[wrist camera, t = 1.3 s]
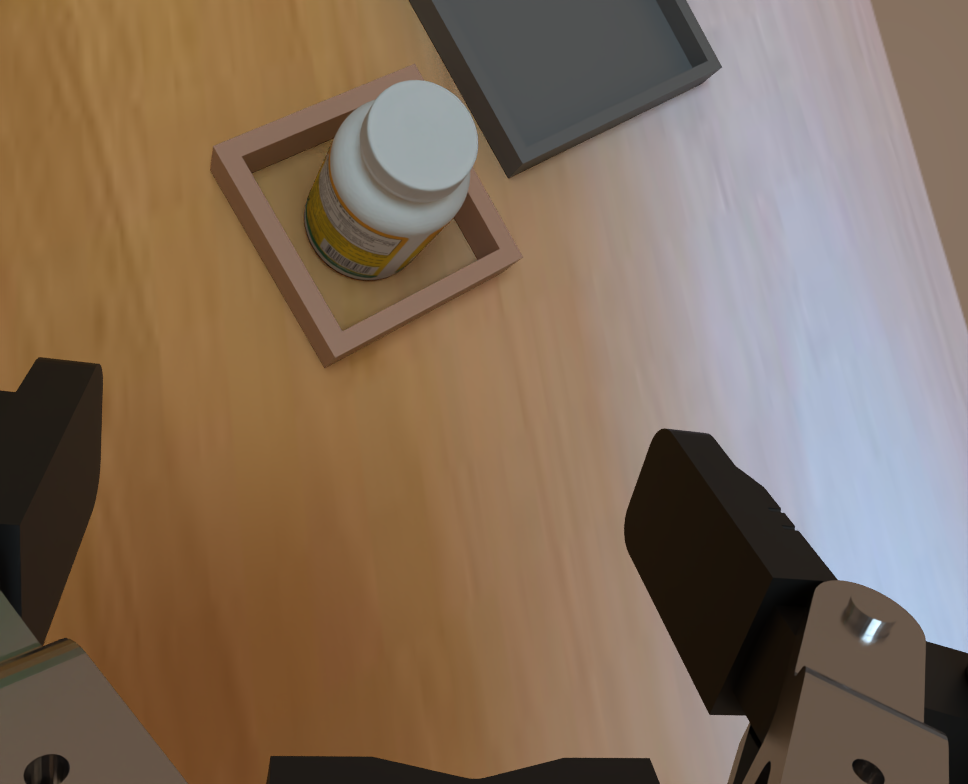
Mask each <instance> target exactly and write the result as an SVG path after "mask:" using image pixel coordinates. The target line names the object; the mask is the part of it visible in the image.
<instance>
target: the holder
mask: <svg viewBox="0 0 968 784" xmlns="http://www.w3.org/2000/svg"><path fill="white" fill-rule="evenodd" d="M408 80H422V81H424V79H423V77H422V76H421V74H420V72H419V70H418V69H417V67H416V65H415V64H413V65H411V66H408V67H406V68H403V69H401V70H398V71H396V72H393V73H391V74H389V75H386V76H384V77H381V78H379V79H376V80H374V81H371V82H369V83H367V84H364V85H362V86H359V87H357V88H354V89H352V90H349V91H347V92H344V93H342V94H340V95H337V96H335V97H332V98H330V99H327V100H325V101H322V102H320V103H318V104H315V105H313V106H310V107H308V108H305V109H303V110H300V111H298V112H296V113H293V114H291V115H288V116H286V117H283V118H281V119H278V120H276V121H273V122H271V123H269V124H266V125H264V126H261V127H259V128H256V129H254V130H251V131H249V132H247V133H244V134H242V135H239V136H237V137H234V138H232V139H229V140H227V141H224V142H222V143H220V144H217V145H215V146H213V151H212V159H211V168H210V171H211V172H212V174H213V176H214V177H215V179H216V181H217V183H218V184H219V186H220V188H221V190H222V191H223V193H224V195H225V196H226V198H227V200H228V202H229V203H230V205H231V207H232V209H233V210H234V212H235V214H236V215H237V217H238V219H239V221H240V222H241V224H242V226H243V228H244V229H245V231H246V233H247V234H248V236H249V238H250V240H251V241H252V243H253V245H254V247H255V248H256V250H257V252H258V254H259V255H260V257H261V259H262V260H263V262H264V264H265V266H266V267H267V269H268V271H269V273H270V274H271V276H272V278H273V279H274V281H275V283H276V285H277V286H278V288H279V290H280V292H281V293H282V295H283V297H284V298H285V300H286V302H287V304H288V305H289V307H290V309H291V311H292V312H293V314H294V316H295V317H296V319H297V321H298V323H299V324H300V326H301V328H302V330H303V331H304V333H305V335H306V336H307V338H308V340H309V342H310V343H311V345H312V347H313V349H314V350H315V352H316V354H317V356H318V357H319V359H320V361H321V362H322V364H323V366H324V368H326V367H328V366H329V365H331V364H333V363H335V362H337V361H339V360H341V359H342V358H344V357H346V356H348V355H350V354H352V353H354V352H355V351H357V350H359V349H361V348H363V347H365V346H367V345H368V344H370V343H372V342H374V341H376V340H378V339H380V338H381V337H383V336H385V335H387V334H389V333H391V332H393V331H394V330H396V329H398V328H400V327H402V326H404V325H406V324H407V323H409V322H411V321H413V320H415V319H417V318H419V317H421V316H422V315H424V314H426V313H428V312H430V311H432V310H434V309H435V308H437V307H439V306H441V305H443V304H445V303H447V302H448V301H450V300H452V299H454V298H456V297H458V296H460V295H461V294H463V293H465V292H467V291H469V290H471V289H473V288H474V287H476V286H478V285H480V284H482V283H484V282H486V281H487V280H489V279H491V278H493V277H495V276H497V275H499V274H500V273H502V272H504V271H505V270H507V269H508V268H509V267H511V266H512V265H513V264H515V263H516V262H517V261H519V260H520V259H521V258H523V256H522V254H521V252H520V250H519V249H518V247H517V245H516V243H515V242H514V240H513V238H512V236H511V234H510V233H509V231H508V229H507V227H506V226H505V224H504V222H503V220H502V218H501V217H500V215H499V213H498V211H497V209H496V208H495V206H494V204H493V202H492V201H491V199H490V197H489V195H488V193H487V192H486V190H485V188H484V186H483V184H482V183H481V181H480V179H479V177H478V176H477V174H476V172H475V170H474V168H473V167H472V169H471V171H470V184H469V189H468V192H467V195H466V198H465V201H464V203H463V205H462V206H461V208H460V210H459V211H458V213H457V214H456V215H455V216H454V218H455V220H456V222H457V223H458V225H459V227H460V229H461V231H462V232H463V234H464V236H465V238H466V239H467V241H468V243H469V245H470V247H471V248H472V250H473V252H474V254H475V255H476V257H477V259H478V260H477V261H476V262H474V263H472V264H470V265H468V266H466V267H464V268H462V269H460V270H458V271H457V272H455V273H453V274H451V275H449V276H447V277H445V278H443V279H441V280H439V281H437V282H436V283H434V284H432V285H430V286H428V287H426V288H424V289H422V290H420V291H418V292H416V293H415V294H413V295H411V296H409V297H407V298H405V299H403V300H401V301H399V302H397V303H396V304H394V305H392V306H390V307H388V308H386V309H384V310H382V311H380V312H378V313H376V314H375V315H373V316H371V317H369V318H367V319H365V320H363V321H361V322H359V323H357V324H355V325H354V326H352V327H350V328H348V329H346V330H344V331H342V330H341V328H340V326H339V325H338V323H337V321H336V319H335V318H334V316H333V314H332V312H331V311H330V309H329V307H328V305H327V304H326V302H325V300H324V299H323V297H322V295H321V293H320V292H319V290H318V288H317V286H316V285H315V283H314V281H313V279H312V278H311V276H310V274H309V272H308V271H307V269H306V267H305V266H304V264H303V262H302V260H301V259H300V257H299V255H298V253H297V252H296V250H295V248H294V246H293V245H292V243H291V241H290V239H289V238H288V236H287V234H286V233H285V231H284V229H283V227H282V226H281V224H280V222H279V220H278V219H277V217H276V215H275V213H274V212H273V210H272V208H271V206H270V205H269V203H268V201H267V200H266V198H265V196H264V194H263V193H262V191H261V189H260V187H259V186H258V184H257V182H256V180H255V179H254V177H253V175H252V173H253V172H255V171H258V170H260V169H262V168H265V167H267V166H269V165H272V164H274V163H276V162H279V161H281V160H283V159H286V158H288V157H290V156H293V155H295V154H297V153H300V152H302V151H304V150H307V149H309V148H311V147H314V146H316V145H318V144H321V143H323V142H325V141H328V140H330V139H332V138H334V137H335V135H336V133H337V131H338V129H339V127H340V126H341V124H342V123H343V121H344V120H345V119H346V118H347V117H348V116H349V115H350V114H351V113H352V112H353V111H354V110H356V109H357V108H358V107H360V106H361V105H363V104H365V103H367V102H370V101H372V100H375V99H376V98H377V97H378V96H379V95H380V94H381V93H382V92H383V91H384V90H385V89H387V88H389V87H390V86H392V85H393V84H396V83H399V82H403V81H408Z"/></svg>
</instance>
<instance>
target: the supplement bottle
mask: <svg viewBox="0 0 968 784" xmlns="http://www.w3.org/2000/svg"><path fill="white" fill-rule="evenodd" d="M477 151H478V135H477V131H476V127H475V124H474V121H473V119H472V117H471V115H470V113H469V111H468V110H467V108H466V107H465V106H464V104H463V103H462V102H461V101H460V100H459V99H458V98H457V97H456V96H455V95H454V94H453V93H451V92H450V91H448V90H447V89H445V88H443V87H441V86H439V85H437V84H435V83H432V82H427V81H422V80H408V81H403V82H399V83H396V84H393V85H392V86H390V87H389V88H387V89H385V90H384V91H383V92H382V93H381V94H380V95H379V96H378V97H377V98H376V99H375V100H372V101H370V102H367V103H365V104H363V105H361V106H360V107H358V108H357V109H356V110H354V111H353V112H352V113H351V114H350V115H349V116H348V117H347V118H346V119H345V120H344V121H343V123H342V124H341V126H340V127H339V129H338V131H337V133H336V135H335V137H334V139H333V141H332V143H331V146H330V148H329V150H328V153H327V155H326V157H325V159H324V162H323V164H322V166H321V168H320V170H319V173H318V175H317V177H316V180H315V182H314V184H313V186H312V189H311V191H310V193H309V196H308V199H307V202H306V205H305V212H304V220H305V227H306V231H307V234H308V237H309V240H310V242H311V244H312V246H313V248H314V250H315V251H316V252H317V254H318V255H319V256H320V257H321V258H322V260H323V261H325V262H326V263H327V264H328V265H329V266H330V267H332V268H333V269H335V270H336V271H338V272H340V273H342V274H344V275H346V276H349V277H351V278H355V279H361V280H376V279H382V278H386V277H389V276H391V275H393V274H395V273H397V272H399V271H400V270H402V269H403V268H404V267H406V266H407V265H408V264H409V263H410V262H411V261H412V260H413V259H414V258H415V257H416V256H417V255H418V254H419V253H420V252H421V250H422V249H423V248H424V247H425V246H426V245H427V244H428V243H429V242H430V241H431V240H432V239H433V238H434V237H435V236H436V235H437V234H438V233H439V232H440V231H441V230H442V229H443V228H444V227H445V226H446V225H447V224H448V223H449V222H450V221H451V220H452V219H453V218H454V216H455V215H456V214H457V213H458V211H459V210H460V208H461V206H462V205H463V203H464V201H465V198H466V195H467V192H468V189H469V184H470V171H471V169H472V167H473V165H474V162H475V160H476V157H477Z"/></svg>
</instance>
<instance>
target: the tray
mask: <svg viewBox="0 0 968 784" xmlns="http://www.w3.org/2000/svg"><path fill="white" fill-rule="evenodd" d="M409 1H410V3H411V5H412V7H413V8H414V10H415V12H416V14H417V16H418V17H419V19H420V21H421V23H422V24H423V26H424V28H425V30H426V32H427V33H428V35H429V37H430V39H431V41H432V42H433V44H434V46H435V48H436V50H437V51H438V53H439V55H440V57H441V58H442V60H443V62H444V64H445V66H446V67H447V69H448V71H449V73H450V75H451V76H452V78H453V80H454V82H455V84H456V85H457V87H458V89H459V91H460V92H461V94H462V96H463V98H464V100H465V101H466V103H467V105H468V107H469V109H470V110H471V112H472V114H473V116H474V118H475V119H476V121H477V123H478V125H479V127H480V128H481V130H482V132H483V134H484V135H485V137H486V139H487V141H488V143H489V144H490V146H491V148H492V150H493V152H494V153H495V155H496V157H497V159H498V161H499V162H500V164H501V166H502V168H503V169H504V171H505V173H506V175H507V177H508V178H510V177H512V176H514V175H516V174H518V173H520V172H522V171H524V170H526V169H529V168H531V167H533V166H535V165H537V164H539V163H541V162H543V161H545V160H547V159H549V158H551V157H553V156H555V155H557V154H559V153H561V152H563V151H565V150H567V149H569V148H571V147H573V146H576V145H578V144H580V143H582V142H584V141H586V140H588V139H590V138H592V137H594V136H596V135H598V134H600V133H602V132H604V131H606V130H608V129H610V128H612V127H614V126H616V125H618V124H620V123H622V122H625V121H627V120H629V119H631V118H633V117H635V116H637V115H639V114H641V113H643V112H645V111H647V110H649V109H651V108H653V107H655V106H657V105H659V104H661V103H663V102H665V101H667V100H669V99H672V98H674V97H676V96H678V95H680V94H682V93H684V92H686V91H688V90H690V89H692V88H694V87H696V86H698V85H700V84H702V83H703V82H704V81H706V80H707V79H708V78H709V77H711V76H712V75H713V74H714V73H715V72H717V71H718V70H719V69H720V68H722V66H721V64H720V62H719V61H718V59H717V57H716V55H715V53H714V51H713V50H712V48H711V46H710V44H709V42H708V40H707V38H706V37H705V35H704V33H703V31H702V29H701V27H700V25H699V24H698V22H697V20H696V18H695V16H694V14H693V13H692V11H691V9H690V7H689V5H688V3H687V1H686V0H409Z"/></svg>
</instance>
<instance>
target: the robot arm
mask: <svg viewBox="0 0 968 784" xmlns="http://www.w3.org/2000/svg"><path fill="white" fill-rule="evenodd" d="M102 393H103V374H102V367H101V365H100V364H95V363H86V362H77V361H69V360H60V359H51V358H42V357H39V358H38V359H37V360H36V361H35V363H34V364H33V366H32V367H31V369H30V371H29V372H28V374H27V375H26V377H25V379H24V380H23V382H22V383H21V385H20V387H19V388H18V390H17V391H16V392H7V391H0V784H188V783H187V782H186V781H185V779H184V778H183V777H182V775H181V774H180V773H179V772H178V770H177V769H176V768H175V766H174V765H173V764H172V763H171V761H170V760H169V759H168V758H167V756H166V755H165V754H164V752H163V751H162V750H161V749H160V747H159V746H158V745H157V743H156V742H155V741H154V740H153V738H152V737H151V736H150V734H149V733H148V732H147V731H146V729H145V728H144V727H143V725H142V724H141V723H140V722H139V720H138V719H137V718H136V717H135V715H134V714H133V713H132V711H131V710H130V709H129V708H128V706H127V705H126V704H125V702H124V701H123V700H122V699H121V697H120V696H119V695H118V693H117V692H116V691H115V690H114V688H113V687H112V686H111V684H110V683H109V682H108V681H107V679H106V678H105V677H104V676H103V674H102V673H101V672H100V670H99V669H98V668H97V667H96V665H95V664H94V663H93V661H92V660H91V659H90V658H89V656H88V655H87V654H86V652H85V651H84V650H83V649H82V648H81V647H80V646H79V645H78V644H77V643H76V642H74V641H73V640H71V639H67V638H64V639H60V640H58V641H55V642H53V643H50V644H48V645H45V646H43V644H44V641H45V638H46V636H47V633H48V630H49V628H50V625H51V622H52V619H53V617H54V614H55V611H56V609H57V606H58V603H59V600H60V598H61V595H62V592H63V590H64V587H65V584H66V582H67V579H68V576H69V573H70V571H71V568H72V565H73V563H74V560H75V557H76V554H77V552H78V549H79V546H80V544H81V541H82V538H83V536H84V533H85V530H86V527H87V525H88V522H89V519H90V517H91V514H92V511H93V508H94V504H95V500H96V495H97V490H98V484H99V476H100V462H101V428H102ZM624 536H625V543H626V547H627V550H628V553H629V555H630V557H631V559H632V561H633V563H634V565H635V567H636V569H637V571H638V573H639V575H640V577H641V579H642V581H643V583H644V585H645V587H646V589H647V591H648V593H649V595H650V597H651V599H652V601H653V603H654V605H655V607H656V609H657V611H658V613H659V615H660V617H661V619H662V621H663V623H664V625H665V627H666V629H667V631H668V633H669V635H670V637H671V639H672V641H673V643H674V645H675V647H676V649H677V651H678V653H679V655H680V657H681V659H682V661H683V663H684V665H685V667H686V669H687V671H688V673H689V675H690V677H691V679H692V681H693V683H694V685H695V687H696V689H697V691H698V693H699V695H700V697H701V699H702V701H703V703H704V705H705V707H706V709H707V711H708V713H709V715H746V716H747V718H748V720H749V722H750V723H749V725H748V727H747V729H746V731H745V733H744V735H743V737H742V739H741V741H740V743H739V747H738V750H737V753H736V757H735V760H734V763H733V767H732V770H731V773H730V777H729V780H728V783H727V784H968V653H965V652H962V651H958V650H955V649H951V648H948V647H944V646H941V645H937V644H934V643H930V642H927V641H926V640H925V635H924V633H923V630H922V629H921V627H920V625H919V624H918V623H917V621H916V620H915V619H914V618H913V617H912V616H911V615H910V614H909V613H908V612H907V611H906V610H905V609H904V608H902V607H901V606H900V605H899V604H897V603H896V602H894V601H893V600H891V599H890V598H888V597H886V596H885V595H883V594H881V593H879V592H877V591H875V590H873V589H871V588H868V587H866V586H863V585H860V584H856V583H853V582H848V581H840V580H837V578H836V577H835V576H834V575H833V573H832V572H831V571H830V570H829V568H828V567H827V566H826V565H825V563H824V562H823V561H822V560H821V558H820V557H819V556H818V555H817V553H816V552H815V551H814V550H813V548H812V547H811V546H810V544H809V543H808V542H807V541H806V539H805V538H804V537H803V536H802V534H801V533H800V532H799V531H796V530H795V526H794V524H793V523H792V522H791V521H790V519H789V518H788V517H787V516H786V514H785V513H781V508H780V507H779V506H778V504H777V503H776V502H775V501H774V499H773V498H772V497H771V495H770V494H769V493H768V492H767V490H766V489H765V488H764V487H763V486H762V485H760V484H759V483H758V482H756V481H755V480H754V479H752V478H751V477H750V476H748V475H747V474H746V473H744V472H743V471H742V470H740V469H739V468H738V467H736V466H735V465H734V463H733V462H732V461H731V460H730V458H729V457H728V456H727V454H726V453H725V452H724V451H723V449H722V448H721V447H720V445H719V444H718V443H717V441H716V440H715V439H714V438H713V437H712V436H711V435H710V434H707V433H700V432H691V431H682V430H673V429H661V430H659V431H658V432H657V433H656V434H655V436H654V437H653V439H652V441H651V444H650V447H649V449H648V452H647V455H646V458H645V461H644V464H643V466H642V469H641V472H640V475H639V478H638V480H637V483H636V486H635V489H634V492H633V495H632V497H631V500H630V503H629V506H628V509H627V512H626V517H625V524H624ZM266 784H660V783H659V780H658V778H657V775H656V773H655V770H654V768H653V765H652V763H651V761H650V758H562V759H558V760H554V761H550V762H546V763H542V764H538V765H534V766H530V767H526V768H522V769H518V770H514V771H510V772H506V773H502V774H498V775H494V776H490V777H486V778H481V779H469V778H463V777H459V776H454V775H450V774H446V773H441V772H437V771H432V770H428V769H424V768H419V767H415V766H410V765H406V764H402V763H397V762H393V761H388V760H384V759H380V758H375V757H326V756H271V757H270V764H269V770H268V776H267V782H266Z"/></svg>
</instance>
